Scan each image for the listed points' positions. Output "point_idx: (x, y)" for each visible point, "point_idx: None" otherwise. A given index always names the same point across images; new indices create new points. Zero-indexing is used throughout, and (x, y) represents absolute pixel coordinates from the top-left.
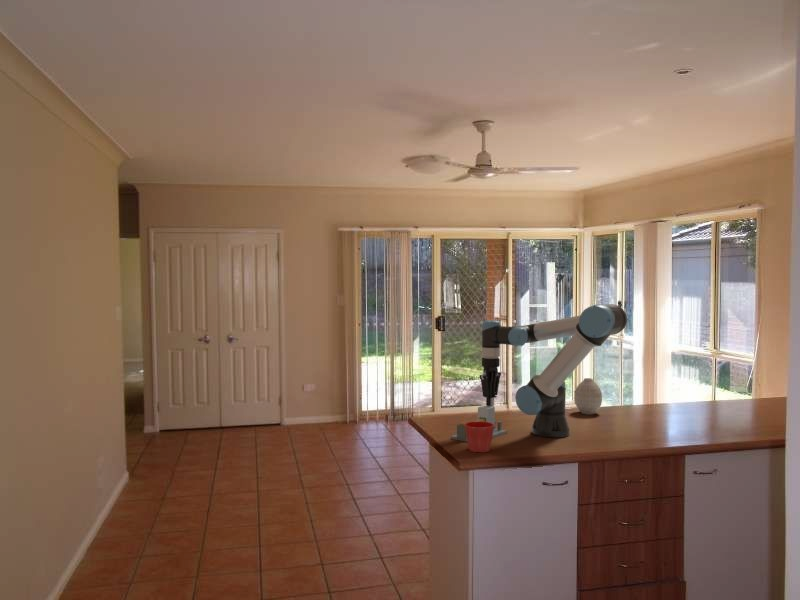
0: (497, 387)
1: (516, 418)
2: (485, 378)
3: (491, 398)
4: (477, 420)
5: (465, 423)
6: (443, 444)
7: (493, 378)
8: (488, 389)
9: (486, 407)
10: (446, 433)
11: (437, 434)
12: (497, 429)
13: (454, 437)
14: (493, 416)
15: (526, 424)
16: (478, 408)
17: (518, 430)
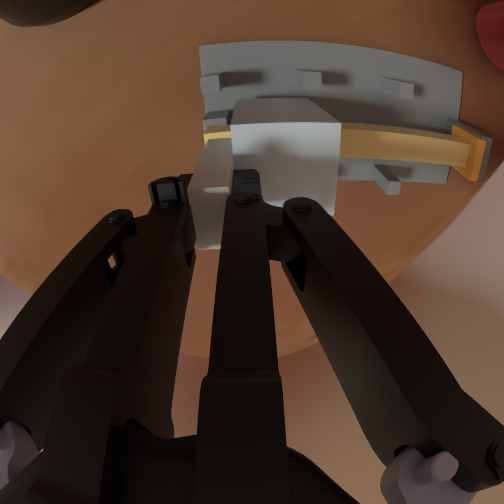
0: (69, 271)
1: (7, 211)
2: (483, 430)
3: (228, 190)
4: (366, 149)
5: (484, 149)
6: (498, 160)
7: (123, 438)
8: (322, 261)
9: (300, 162)
10: (384, 231)
11: (409, 242)
12: (213, 94)
13: (448, 166)
14: (248, 108)
15: (20, 123)
16: (331, 206)
17: (112, 53)
